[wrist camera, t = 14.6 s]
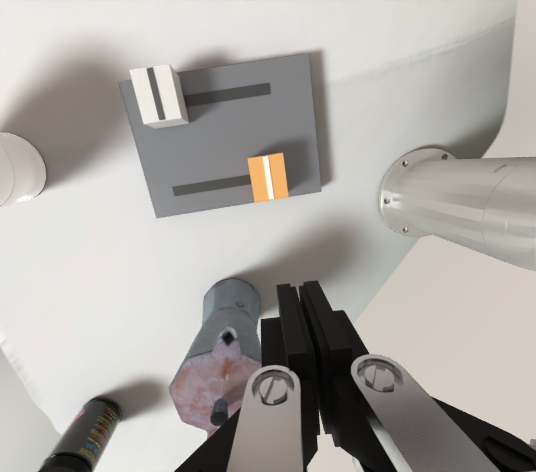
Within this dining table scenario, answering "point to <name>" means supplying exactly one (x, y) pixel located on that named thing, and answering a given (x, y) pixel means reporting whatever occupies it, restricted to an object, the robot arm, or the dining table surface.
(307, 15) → the dining table surface
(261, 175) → the orange fader
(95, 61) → the dining table surface
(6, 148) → the jar
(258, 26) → the dining table surface
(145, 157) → the console
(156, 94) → the block
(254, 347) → the moka pot
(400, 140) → the dining table surface
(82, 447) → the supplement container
